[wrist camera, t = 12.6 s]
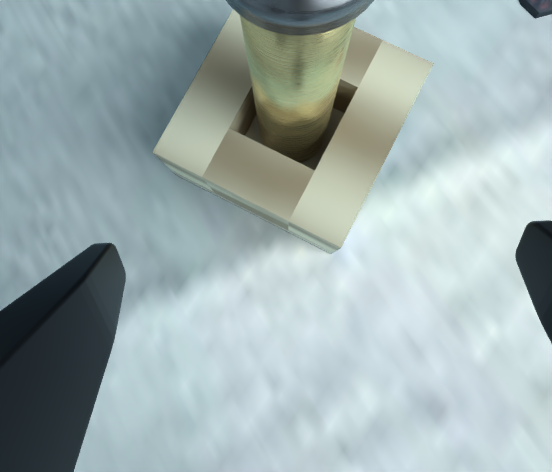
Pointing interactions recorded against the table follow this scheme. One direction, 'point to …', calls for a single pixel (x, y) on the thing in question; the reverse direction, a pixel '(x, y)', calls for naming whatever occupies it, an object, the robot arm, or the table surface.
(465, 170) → the table surface
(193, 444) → the table surface
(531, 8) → the dark gray book
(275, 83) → the brass pin
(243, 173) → the socket block
